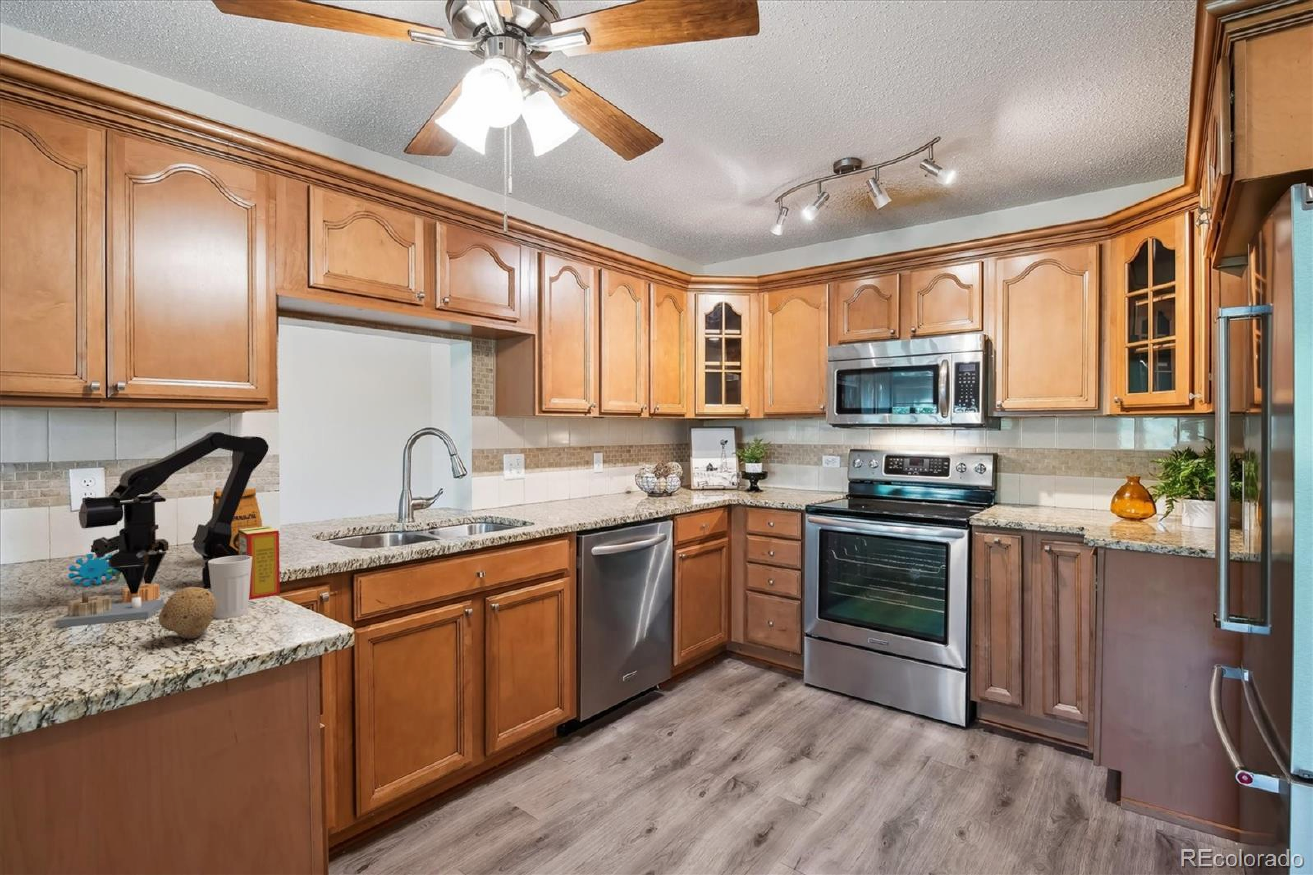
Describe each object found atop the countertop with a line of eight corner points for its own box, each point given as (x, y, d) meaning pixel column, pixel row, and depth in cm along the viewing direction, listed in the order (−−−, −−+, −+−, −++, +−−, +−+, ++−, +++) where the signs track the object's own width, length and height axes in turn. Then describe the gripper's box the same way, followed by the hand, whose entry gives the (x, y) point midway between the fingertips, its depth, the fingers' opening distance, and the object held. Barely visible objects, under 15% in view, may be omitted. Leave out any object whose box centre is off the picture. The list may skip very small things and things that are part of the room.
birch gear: (116, 605, 139) (116, 584, 139) (103, 614, 133) (103, 592, 132) (76, 608, 136) (76, 588, 136) (61, 618, 130) (60, 596, 130)
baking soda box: (279, 594, 153) (278, 529, 153) (248, 600, 148) (247, 532, 148) (269, 587, 160) (268, 524, 159) (239, 592, 155) (238, 527, 155)
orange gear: (163, 594, 153) (163, 582, 153) (154, 602, 146) (153, 589, 146) (128, 597, 150) (128, 585, 150) (116, 605, 144) (116, 592, 144)
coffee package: (267, 563, 187) (266, 489, 186) (217, 570, 178) (215, 492, 177) (258, 558, 194) (257, 486, 193) (209, 564, 185) (208, 489, 184)
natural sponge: (152, 649, 116) (151, 595, 116) (167, 634, 125) (166, 584, 124) (211, 642, 120) (210, 590, 120) (222, 628, 128) (221, 579, 128)
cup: (261, 610, 140) (260, 557, 140) (226, 621, 133) (225, 564, 132) (235, 607, 143) (234, 554, 142) (200, 617, 135) (199, 561, 135)
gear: (59, 582, 157) (77, 549, 164) (65, 595, 161) (83, 562, 168) (113, 585, 161) (129, 552, 168) (118, 597, 165) (134, 564, 172)
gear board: (163, 605, 143) (163, 590, 143) (148, 618, 134) (148, 602, 134) (79, 613, 138) (79, 597, 138) (57, 627, 128) (57, 610, 128)
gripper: (112, 518, 153) (114, 582, 154) (77, 531, 136) (79, 603, 137) (168, 516, 158) (169, 578, 158) (141, 528, 141) (143, 597, 141)
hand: (141, 588), depth 148 cm, fingers open, 9 cm apart
